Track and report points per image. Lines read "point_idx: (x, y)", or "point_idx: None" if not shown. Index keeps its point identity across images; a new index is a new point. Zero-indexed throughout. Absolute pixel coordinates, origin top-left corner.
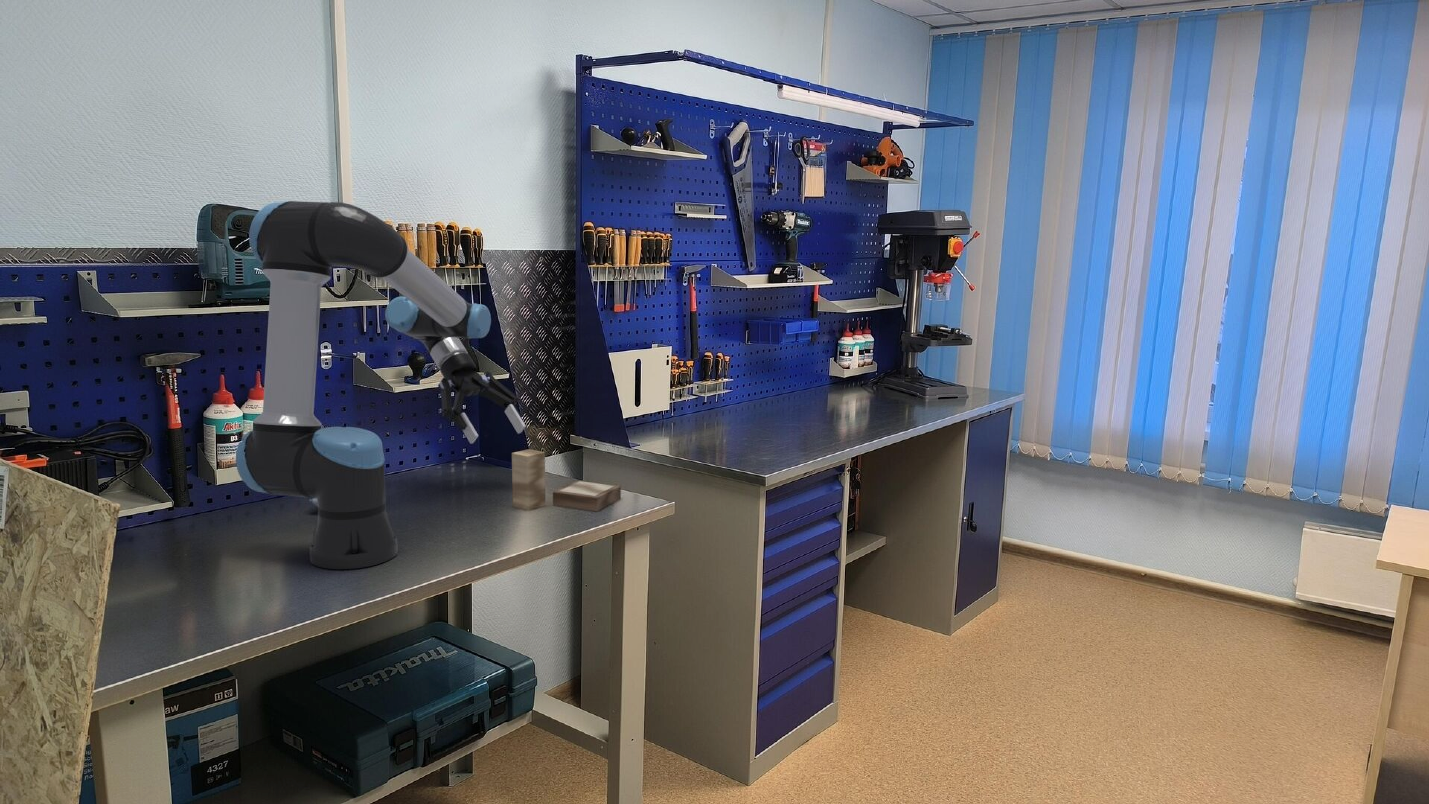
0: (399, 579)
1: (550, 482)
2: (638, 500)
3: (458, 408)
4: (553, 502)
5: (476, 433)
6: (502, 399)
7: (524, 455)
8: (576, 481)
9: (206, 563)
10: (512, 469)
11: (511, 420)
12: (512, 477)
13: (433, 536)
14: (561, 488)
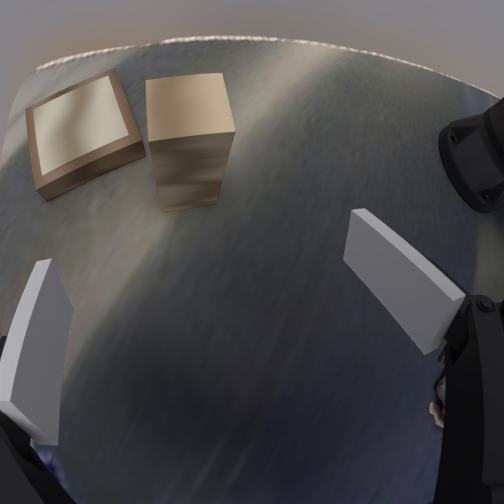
0: (436, 87)
1: None
2: (28, 103)
3: (488, 324)
4: (144, 151)
5: (363, 216)
6: (33, 478)
7: (220, 85)
8: (43, 184)
9: None
10: (226, 159)
11: (57, 364)
12: (224, 171)
13: (399, 156)
14: (106, 153)
